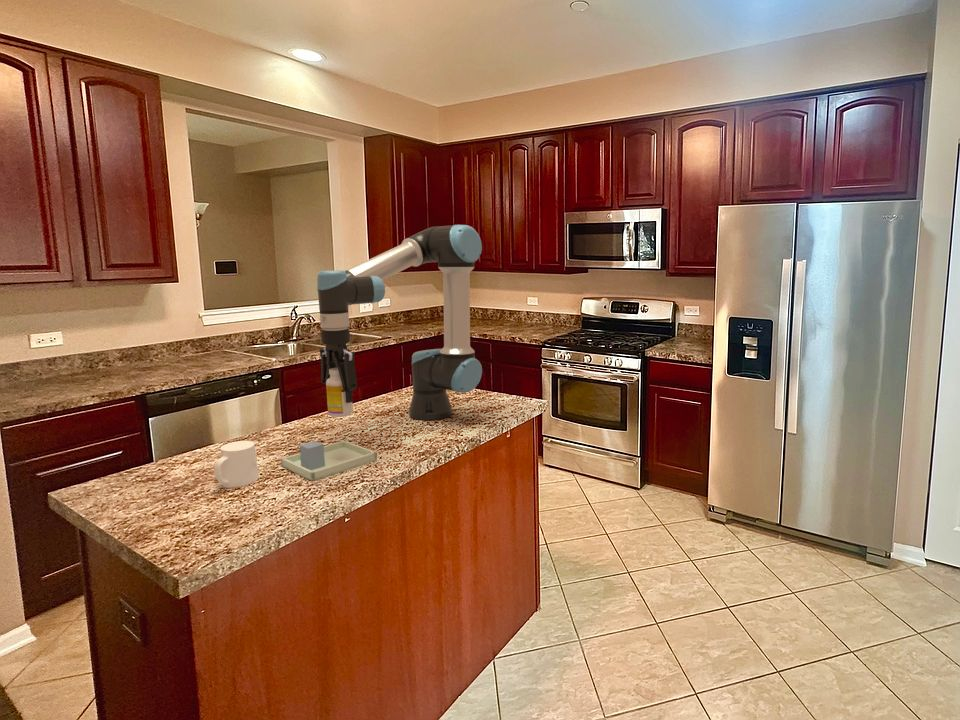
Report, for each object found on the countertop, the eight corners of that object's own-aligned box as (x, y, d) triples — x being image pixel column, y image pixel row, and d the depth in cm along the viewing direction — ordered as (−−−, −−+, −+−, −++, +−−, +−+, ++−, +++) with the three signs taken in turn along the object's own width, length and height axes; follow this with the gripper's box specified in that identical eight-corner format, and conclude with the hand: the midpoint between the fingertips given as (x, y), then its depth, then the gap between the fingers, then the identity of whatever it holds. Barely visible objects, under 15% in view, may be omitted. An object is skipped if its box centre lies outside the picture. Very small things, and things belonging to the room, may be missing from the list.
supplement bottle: (346, 418, 155) (343, 371, 152) (323, 417, 156) (320, 371, 154) (356, 411, 161) (354, 366, 159) (334, 410, 162) (331, 366, 160)
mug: (240, 438, 151) (263, 441, 148) (243, 472, 153) (266, 476, 149) (202, 453, 140) (226, 457, 137) (206, 489, 142) (230, 493, 139)
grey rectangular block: (301, 466, 154) (299, 445, 153) (316, 461, 157) (314, 440, 156) (309, 470, 151) (308, 448, 150) (325, 465, 154) (323, 444, 153)
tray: (344, 447, 170) (344, 440, 170) (377, 459, 159) (376, 452, 159) (281, 466, 156) (280, 458, 156) (312, 481, 145) (311, 473, 145)
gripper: (303, 327, 158) (309, 408, 162) (343, 333, 145) (349, 421, 149) (327, 324, 163) (333, 403, 168) (368, 329, 150) (372, 414, 154)
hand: (340, 411), depth 158 cm, fingers closed on supplement bottle, 7 cm apart
